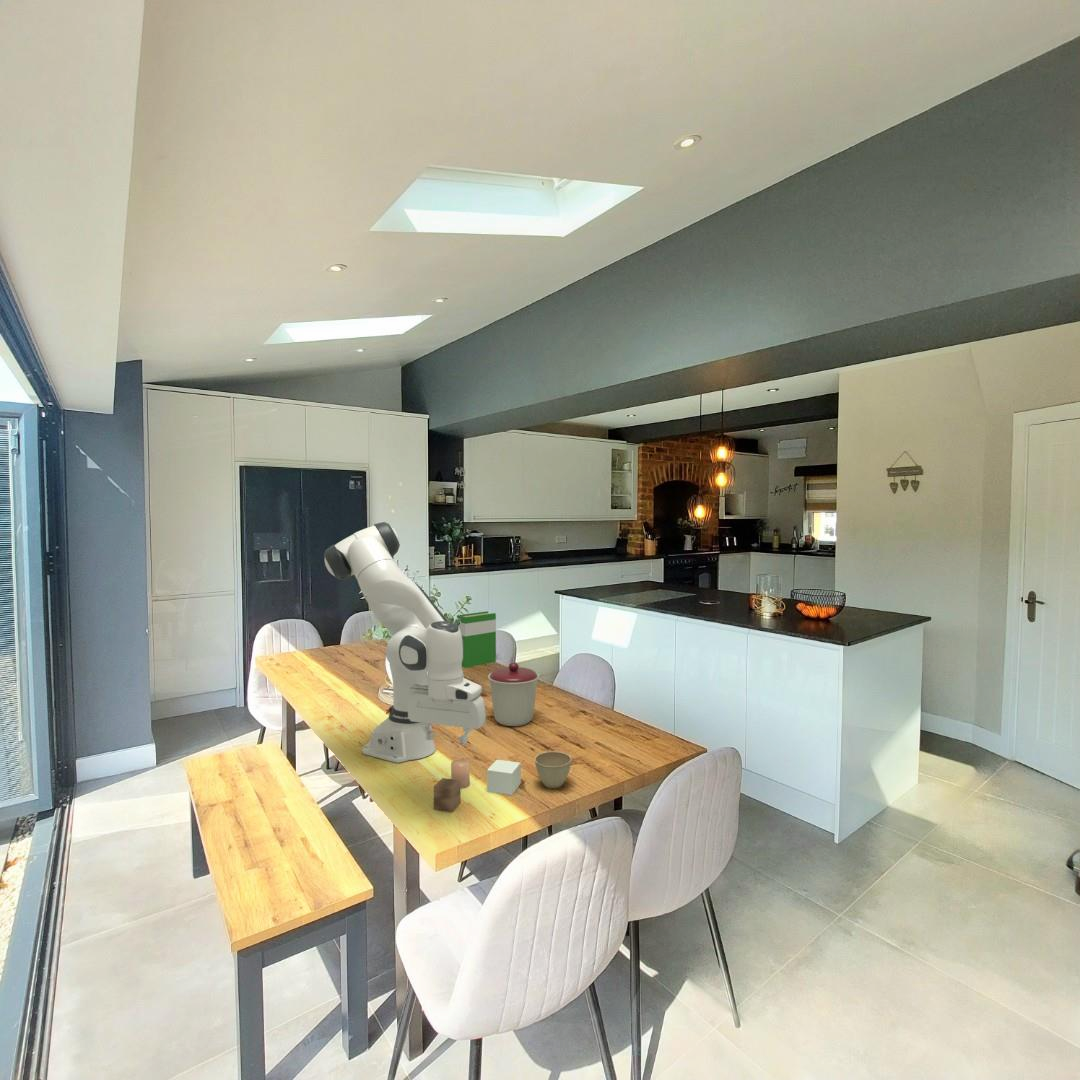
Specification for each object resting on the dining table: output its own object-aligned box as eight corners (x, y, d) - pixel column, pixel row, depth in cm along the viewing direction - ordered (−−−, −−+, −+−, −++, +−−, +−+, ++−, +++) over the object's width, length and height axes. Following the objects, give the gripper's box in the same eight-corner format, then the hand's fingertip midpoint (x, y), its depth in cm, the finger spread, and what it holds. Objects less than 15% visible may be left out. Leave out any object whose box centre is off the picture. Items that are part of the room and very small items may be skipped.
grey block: (487, 792, 160) (487, 770, 159) (496, 780, 166) (496, 759, 166) (511, 795, 158) (511, 773, 157) (520, 784, 164) (520, 762, 164)
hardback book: (487, 658, 300) (487, 611, 299) (495, 661, 295) (495, 613, 293) (457, 664, 289) (456, 615, 288) (465, 667, 283) (465, 617, 282)
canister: (496, 711, 223) (495, 655, 222) (543, 714, 219) (543, 657, 218) (481, 728, 205) (481, 667, 204) (533, 732, 201) (533, 670, 200)
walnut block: (433, 809, 150) (433, 786, 150) (442, 800, 155) (442, 777, 154) (451, 813, 148) (451, 789, 148) (460, 803, 153) (460, 780, 153)
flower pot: (540, 774, 170) (540, 749, 170) (575, 778, 167) (575, 753, 167) (530, 789, 161) (530, 763, 160) (566, 795, 158) (566, 768, 157)
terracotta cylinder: (448, 787, 162) (447, 765, 162) (456, 779, 167) (456, 758, 166) (464, 790, 161) (464, 768, 160) (472, 781, 165) (472, 760, 165)
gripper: (402, 687, 150) (403, 741, 151) (477, 694, 144) (478, 751, 145) (415, 680, 156) (416, 732, 157) (487, 687, 150) (488, 741, 151)
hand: (446, 741), depth 151 cm, fingers open, 8 cm apart
